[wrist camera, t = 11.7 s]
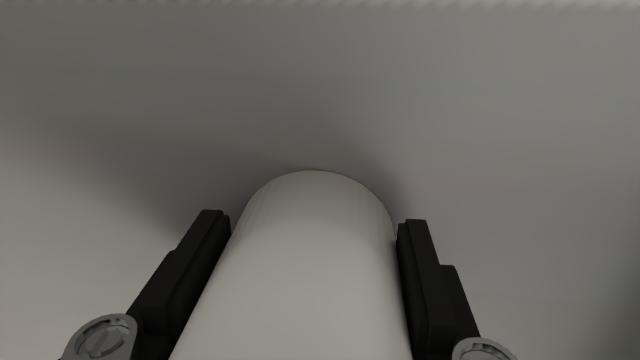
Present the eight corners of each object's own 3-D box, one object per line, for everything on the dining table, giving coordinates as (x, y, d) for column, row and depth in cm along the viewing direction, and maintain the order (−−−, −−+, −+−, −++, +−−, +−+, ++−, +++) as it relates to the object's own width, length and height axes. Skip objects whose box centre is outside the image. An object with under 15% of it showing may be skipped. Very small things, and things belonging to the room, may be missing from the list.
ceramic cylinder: (418, 196, 11) (493, 456, 5) (365, 312, 14) (372, 587, 7) (255, 150, 11) (123, 362, 5) (229, 276, 13) (118, 528, 7)
